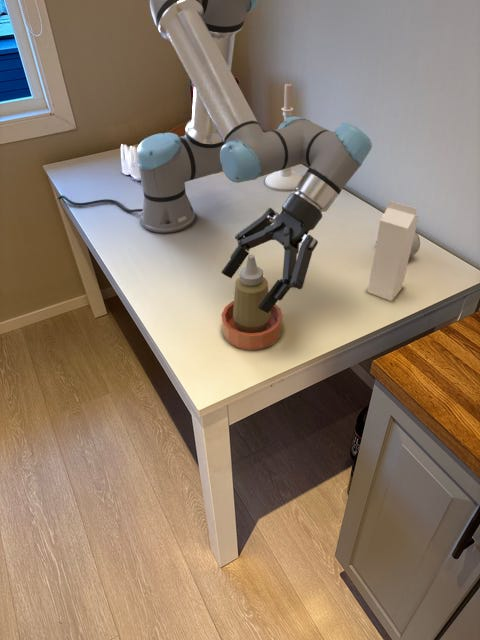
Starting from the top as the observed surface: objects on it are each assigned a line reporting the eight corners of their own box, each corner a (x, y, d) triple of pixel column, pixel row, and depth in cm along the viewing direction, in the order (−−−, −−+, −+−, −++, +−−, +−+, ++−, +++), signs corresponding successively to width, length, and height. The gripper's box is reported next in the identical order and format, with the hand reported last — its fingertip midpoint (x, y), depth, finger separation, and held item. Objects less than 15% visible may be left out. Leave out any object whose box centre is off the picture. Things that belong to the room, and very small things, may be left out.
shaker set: (149, 180, 161) (144, 147, 154) (138, 184, 159) (133, 151, 152) (132, 169, 169) (126, 137, 161) (121, 173, 167) (115, 140, 159)
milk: (378, 280, 116) (394, 194, 102) (402, 288, 113) (422, 202, 99) (366, 292, 112) (382, 206, 98) (391, 301, 110) (411, 214, 95)
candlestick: (278, 170, 165) (281, 74, 145) (312, 179, 159) (319, 80, 139) (257, 184, 157) (257, 85, 137) (291, 194, 151) (296, 91, 131)
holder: (210, 333, 103) (209, 319, 101) (246, 303, 111) (246, 289, 108) (258, 358, 97) (258, 344, 95) (292, 324, 105) (293, 310, 102)
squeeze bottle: (268, 342, 100) (268, 270, 88) (229, 337, 101) (225, 266, 90) (273, 317, 106) (275, 246, 94) (237, 313, 107) (234, 243, 95)
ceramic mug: (419, 259, 122) (425, 232, 117) (392, 268, 119) (397, 241, 114) (392, 240, 129) (397, 214, 124) (366, 248, 127) (370, 221, 122)
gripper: (362, 239, 87) (291, 332, 91) (280, 187, 103) (223, 268, 107) (343, 221, 81) (268, 321, 86) (260, 170, 98) (200, 256, 102)
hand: (243, 292), depth 96 cm, fingers open, 13 cm apart
